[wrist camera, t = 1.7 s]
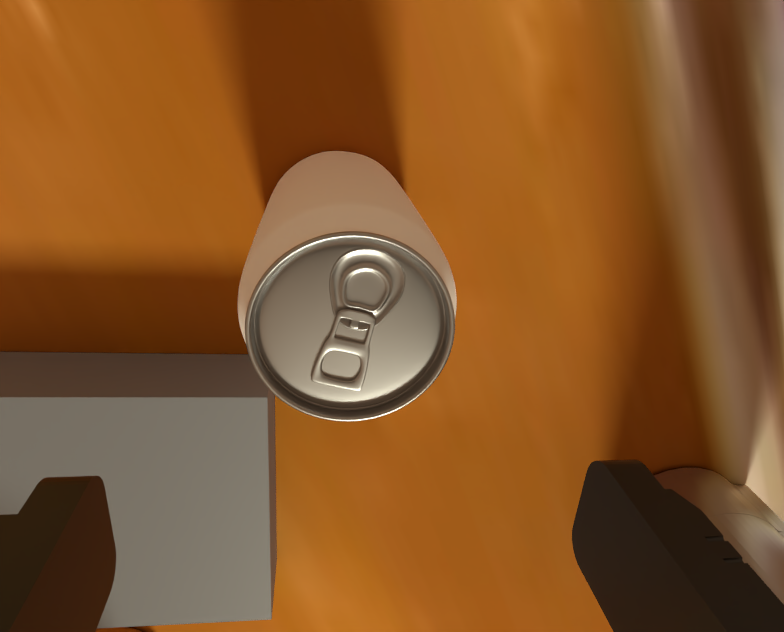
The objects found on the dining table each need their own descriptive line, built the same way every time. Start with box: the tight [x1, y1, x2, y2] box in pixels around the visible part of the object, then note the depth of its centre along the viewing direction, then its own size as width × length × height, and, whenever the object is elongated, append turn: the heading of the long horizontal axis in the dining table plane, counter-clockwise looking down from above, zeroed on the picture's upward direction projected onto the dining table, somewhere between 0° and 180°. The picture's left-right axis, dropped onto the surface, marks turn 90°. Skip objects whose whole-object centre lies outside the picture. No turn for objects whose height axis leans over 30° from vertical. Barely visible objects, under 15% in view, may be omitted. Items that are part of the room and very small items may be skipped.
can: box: [238, 151, 457, 421], centre depth 20 cm, size 6×6×12 cm
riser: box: [0, 352, 277, 628], centre depth 28 cm, size 14×14×4 cm
